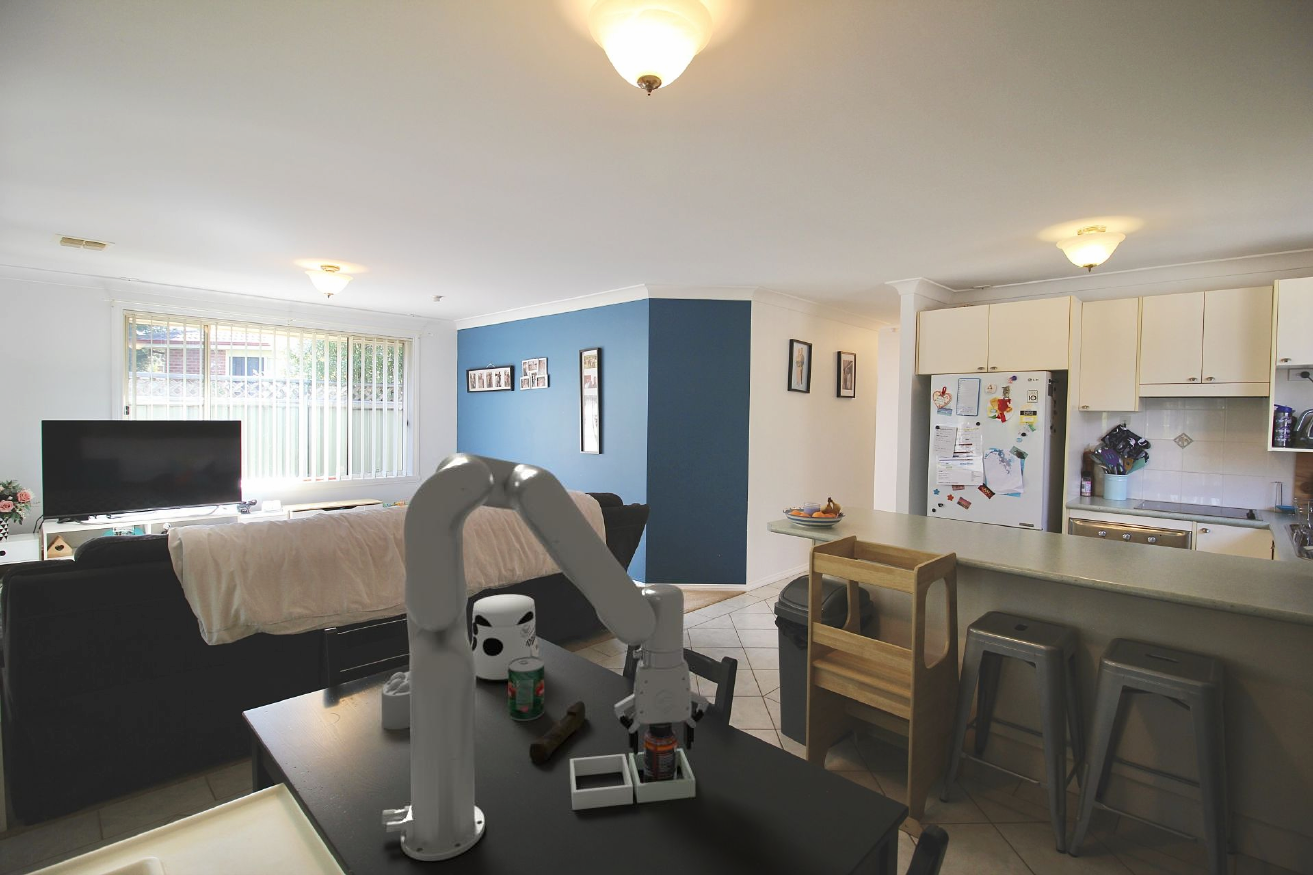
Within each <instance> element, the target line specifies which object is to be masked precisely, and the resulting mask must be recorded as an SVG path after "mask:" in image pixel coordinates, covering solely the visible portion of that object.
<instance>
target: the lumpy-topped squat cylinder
mask: <svg viewBox="0 0 1313 875" xmlns="http://www.w3.org/2000/svg"><path fill="white" fill-rule="evenodd" d="M409 677H410V670H409V671H406V672H402V671H398V672H396V673H394V674H393V675H391V677H390V679H389V680H388V681H387V682H386V683H385V684H384V686H383V687H382V688H381V725H382V727H383V728H384V729H387V730H401V729H407V728H410V683H409Z"/></svg>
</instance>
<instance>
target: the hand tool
mask: <svg viewBox="0 0 1313 875" xmlns="http://www.w3.org/2000/svg"><path fill="white" fill-rule="evenodd" d="M585 718H586V705H585V702H583V701H577V702H575V703H574V704H573V705H571V706H569V707H568V708H567V709H566V714H565V716H564V717H562V718H561V719H560V720H559V721H558V722H557V723H556V724H555V725H553V727H551V728H550V729H549V730H548V731H547V732H546V733H545V734H544V735H543V736H541V738H539V739H537V741H535V742H531V744H530V746H529V754H528V755H529V757H530V759H531V761H532V762H536V763H538V764H545V763H546V762H547V760H548V759H550V758H551V755H552V753H553V752H554V751H555V750H556V749H557V748H558V747H559V746H560V745H561V744H563V743H564V741H565V740H566V739H568V737H569V736H570V735H571V734H572V733H573V732H578V731H579V730H580V729H581V727H582V725H583V723H584V722H585Z"/></svg>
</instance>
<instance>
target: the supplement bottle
mask: <svg viewBox="0 0 1313 875" xmlns="http://www.w3.org/2000/svg"><path fill="white" fill-rule="evenodd" d="M648 725H649V726H648V730H646V732H645V733H644V737H643V752H644V769H643V781H644V782H643V783H650V782H660V781H670V780H677V773H678V772H677V769H678V768H677V767H678V766H677V749H678V746H677V745H678V743H677V742H678V738H677V734H676V732H675V731H674V730H673V729H672V722H671V723H660V724H648Z"/></svg>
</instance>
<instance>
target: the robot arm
mask: <svg viewBox="0 0 1313 875" xmlns="http://www.w3.org/2000/svg"><path fill="white" fill-rule="evenodd" d="M482 506H483V507H488V508H495V509H501V510H510V511H515V512H516V514H517V515H518V516H519V518H520V519H521V521H523V523H524V524H525V526H527V528H528V529H529V531H530V532H531V533H532V534H533V536H534V537H535V539H536V540H537V542H538V543H539V544H540V545H541V547H542V548H543V549H544V551H545V552H546V553H547V554H548V556H549V558H550V559H551V561H552V562H553V563H554V564H555V565H556V566H557V568H558V569H559V570H560V572H561V573H562V575H564V576H565V577H566V578H567V579H568V581H570V582H571V583H572V584H573V585H574V586H575V587H577V589H578V590H579V591H580V592H581V593H582V594H583V595H584V596H585V598H586V599H587V600H588V601H589V603H590V604H591V605H592V607H594V608H595V612H596V615H597V618H598V619H599V621H600V622H601V623H602V624H603V625H604V626H605V627H606V629H608V630H609V632H611V633H612V635H614V637H615V639H617V640H618V641H619V642H620V643H622V644H624V645H628V646H631V647H633V646H638V645H640V647H639V648H638V649H637V650H633V652H632V655H633V659H639V660H638V661H637V664H636V669H635V676H634V682H633V683H634V684H633V693H632V694H631V695H629V696H627V697H625V698H624V699H622V700H620V701H618V702H617V703H615V704H614V705H613V711H614V713H615V715H616V717H617V719H618V720H619V723H620V724H621V725H622V726H623V727H624V728H625V729H627V731H628V748H629V749H632V751H633V752H632V753H634V755H637V754H638V752H639V732H638V728H640V726H641V725H649V724H660V723H671V724H672V723H679V722H683V730H682V731H683V743H684V746H685V748H686V750H687V751H690V750H692V743H694V741H695V728H696V727H697V723H698V722H699V721H700V720H701V719H702V718H703V717H704V715H705V712H706V711H707V708H708V707H709V703H710V701H709V699H708V698H707V697H706V696H704V695H701V694H699V693H697V692H695V691H693V690H691V688H692V686H691V676H690V670H689V664H688V662H687V661H686V659H684V614H685V613H684V612H685V611H684V610H685V609H684V607H685V605H684V604H685V603H684V602H685V598H684V597H685V596H684V591H683V590H682V589H681V588H680V587H678V586H677V585H674V584H667V583H656V584H651V585H649V586H638V585H637V584H636V583H635V581H634V580H633V579H632V577H631V576H630V575H629V574H628V572H627V571H626V570H625V568H624V567H623V566H622V564H621V563H620V561H618V559H617V558H616V557H615V556H614V554H613V553H612V551H611V550H610V548H609V547H608V546H607V545H606V543H605V542H604V540H602V538H601V537H600V535H599V534H598V533H597V531H596V530H595V528H594V527H593V526H592V524H591V523H590V522H589V520H588V519H587V518H586V516H585V515H584V513H583V512H582V510H581V509H580V508H579V507H578V505H577V503H576V502H575V501H574V499H573V498H572V497H571V495H570V494H569V492H568V491H567V490H566V489H565V487H564V486H563V484H562V482H561V481H560V480H559V479H558V478H557V477H556V476H555V475H554V474H553V473H552V472H551V471H549V470H547V469H545V468H543V467H540V466H538V465H534V464H527V463H522V462H521V463H520V462H517V461H516V462H515V461H514V462H513V461H510V460H509V461H508V460H503V459H500V458H499V459H498V458H495V457H488V456H484V455H478V454H474V453H469V452H458V453H457V452H456V453H453V454H450V455H448V456H447V457H445V458H443V460H442V461H441V462H440V463H439V464H438V466H437V467H436V470H435V473H433V474H432V475H431V476H429V477H428V478H427V479H426V480H425V481H424V482H423V483H422V484H421V485H420V486H419V487H418V489H417V490H416V492H415V493H414V495H413V496H412V498H411V500H410V502H409V504H408V506H407V509H406V513H405V517H404V526H403V527H404V528H403V540H404V567H405V582H404V604H405V611H406V623H407V624H406V625H407V633H408V634H407V635H408V645H409V646H408V647H409V648H408V649H409V650H408V651H409V662H408V664H409V665H408V666H409V671H410V677H409V683H410V727H409V728H410V729H409V732H410V733H409V734H410V738H409V739H410V741H409V743H410V805H405V806H404V808H400V809H398V808H397V809H396V808H394V809H384V810H382V816H381V824H382V825H386V830H385V831H386V833H391V832H399V831H401V832H400V847H401V850H402V851H403V852H404V853H405V855H407V857H410V858H412V859H415V860H418V861H423V862H435V861H443V860H444V861H445V860H448V859H451V858H453V857H456V856H459V855H460V854H462V853H465V852H466V851H468V850H469V849H471V848H472V847H473V846H474V845H475V844H476V843H478V841H479V840H480V839H481V838H482V836H483V834H484V832H485V828H486V827H485V826H486V822H485V821H486V818H485V814H484V813H483V811H482V810H481V809H480V808H479V807H478V806H476V804H475V802H476V801H475V796H476V795H475V791H476V790H475V785H476V784H475V783H476V782H475V781H476V780H475V778H476V777H475V776H476V775H475V774H476V772H475V769H476V768H475V767H476V766H475V760H476V759H475V758H476V757H475V751H476V750H475V705H476V704H475V703H476V702H475V701H476V687H477V677H476V665H475V659H474V655H473V651H472V648H471V643H470V642H471V641H470V639H469V634H468V622H467V605H468V600H469V588H468V584H467V580H466V573H465V562H464V536H463V532H464V525H465V523H466V521H467V519H468V518H469V516H470V515H471V513H473V512H474V511H476V510H477V509H478V508H480V507H482ZM692 702H694V703H696V704H697V707H695V709H694V710H693V711H692V709H693V706H692ZM630 707H632V708H633V713H632V714H631V715H630V717H629V716H628V715H627V714H625V712H624V711H626V710H627V709H629V708H630Z"/></svg>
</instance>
